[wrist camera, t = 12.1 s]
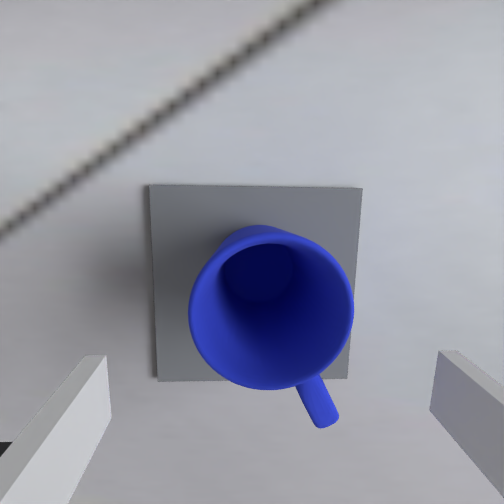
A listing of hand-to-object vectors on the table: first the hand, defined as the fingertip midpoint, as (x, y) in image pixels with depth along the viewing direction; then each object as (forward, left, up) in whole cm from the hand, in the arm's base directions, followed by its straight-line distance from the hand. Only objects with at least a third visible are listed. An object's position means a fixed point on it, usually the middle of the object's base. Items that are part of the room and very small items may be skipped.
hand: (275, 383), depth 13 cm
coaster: (0, 0, -14) cm, 14 cm away
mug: (0, +1, -14) cm, 14 cm away
